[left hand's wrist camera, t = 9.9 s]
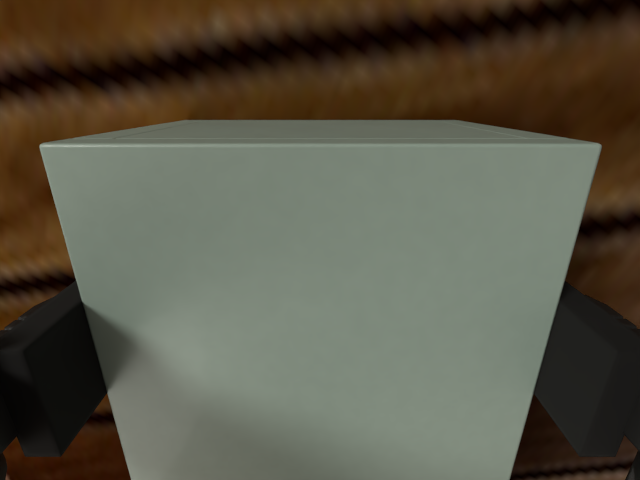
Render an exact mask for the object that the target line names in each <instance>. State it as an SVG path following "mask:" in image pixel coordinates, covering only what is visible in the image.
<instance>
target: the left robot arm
mask: <svg viewBox="0 0 640 480" xmlns="http://www.w3.org/2000/svg"><path fill="white" fill-rule="evenodd" d="M106 394H107V390H106V386H105V382H104V379H103V375H102V372H101V368H100V364H99V361H98V357H97V353H96V350H95V346H94V343H93V339H92V335H91V332H90V328H89V325H88V321H87V317H86V314H85V310H84V306H83V303H82V299H81V296H80V292H79V288H78V285H77V281H75V282H74V283H72V284H71V285H69V286H68V287H67V288H65V289H64V290H63V291H61V292H60V293H59V294H57V295H56V296H55V297H53V298H51V299H48V300H46V301H44V302H42V303H40V304H38V305H36V306H34V307H32V308H31V309H30V310H28V311H27V312H26V313H24V314H23V315H21V316H20V317H19V318H18V320H15V321H13V322H12V323H10V324H9V325H8V326H6V327H5V330H1V331H0V480H5V478H6V472H7V464H6V459H5V457H4V455H3V451H4V450H5V449H6V447H7V446H8V445H9V444H10V443H11V442H12V441H13V440H14V439H15V437H16V436H17V438H18V440H19V443H20V445H21V448H22V450H23V452H24V455H25V457H61V456H62V454H63V453H64V452H65V450H66V449H67V447H68V446H69V445H70V443H71V442H72V441H73V439H74V438H75V436H76V435H77V434H78V432H79V431H80V429H81V428H82V427H83V425H84V424H85V423H86V421H87V420H88V418H89V417H90V416H91V414H92V413H93V412H94V410H95V409H96V407H97V406H98V405H99V403H100V402H101V400H102V399H103V398H104V396H105V395H106ZM534 394H535V396H536V397H537V398H538V400H539V401H540V403H541V404H542V405H543V407H544V408H545V409H546V411H547V412H548V414H549V415H550V416H551V418H552V419H553V421H554V422H555V423H556V425H557V426H558V427H559V429H560V430H561V432H562V433H563V434H564V436H565V437H566V439H567V440H568V441H569V443H570V444H571V445H572V447H573V448H574V450H575V451H576V452H577V454H578V455H579V456H580V457H615V456H616V454H617V451H618V449H619V447H620V444H621V442H622V439H623V437H624V435H625V436H626V437H627V438H628V439H629V440H630V441H631V443H632V444H633V445H634V446H635V447H636V448H637V449H638V452H637V455H636V457H635V459H634V461H633V464H632V466H631V468H630V470H629V473H628V475H627V477H626V479H625V480H640V329H637V328H636V326H635V325H634V324H633V323H631V322H630V321H628V320H627V319H623V316H621V315H620V314H619V313H617V312H616V311H615V310H613V309H612V308H610V307H609V306H608V305H606V304H604V303H602V302H599V301H597V300H595V299H593V298H591V297H589V296H587V295H583V294H582V293H580V292H579V291H578V290H576V289H575V288H574V287H572V286H571V285H570V284H568V283H567V282H566V281H565V282H564V285H563V289H562V293H561V296H560V300H559V303H558V307H557V311H556V314H555V318H554V321H553V325H552V329H551V332H550V336H549V339H548V343H547V347H546V350H545V354H544V357H543V361H542V365H541V368H540V372H539V375H538V379H537V383H536V386H535V390H534Z"/></svg>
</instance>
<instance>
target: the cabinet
mask: <svg viewBox="0 0 640 480" xmlns="http://www.w3.org/2000/svg"><path fill="white" fill-rule="evenodd" d="M601 148H602V146H601V145H600V144H598V143H594V142H587V141H581V140H575V139H568V138H564V137H557V136H551V135H545V134H539V133H533V132H527V131H520V130H514V129H508V128H502V127H496V126H489V125H483V124H477V123H471V122H463V121H458V120H183V121H177V122H170V123H164V124H158V125H152V126H146V127H139V128H133V129H127V130H121V131H115V132H108V133H102V134H96V135H90V136H83V137H77V138H73V139H65V140H59V141H53V142H47V143H42V144H41V145H40V151H41V154H42V158H43V162H44V165H45V169H46V172H47V176H48V180H49V183H50V187H51V191H52V194H53V198H54V201H55V205H56V209H57V212H58V216H59V220H60V223H61V227H62V230H63V234H64V238H65V241H66V245H67V249H68V252H69V256H70V259H71V263H72V267H73V270H74V274H75V277H76V281H77V285H78V288H79V292H80V296H81V299H82V303H83V306H84V310H85V314H86V317H87V321H88V325H89V328H90V332H91V335H92V339H93V343H94V346H95V350H96V353H97V357H98V361H99V364H100V368H101V372H102V375H103V379H104V382H105V386H106V390H107V393H108V397H109V401H110V404H111V408H112V411H113V415H114V419H115V422H116V426H117V430H118V433H119V437H120V440H121V444H122V448H123V451H124V455H125V458H126V462H127V466H128V469H129V473H130V477H131V480H510V476H511V473H512V469H513V465H514V462H515V458H516V455H517V451H518V447H519V444H520V440H521V437H522V433H523V429H524V426H525V422H526V419H527V415H528V411H529V408H530V404H531V401H532V397H533V393H534V390H535V386H536V383H537V379H538V375H539V372H540V368H541V365H542V361H543V357H544V354H545V350H546V347H547V343H548V339H549V336H550V332H551V329H552V325H553V321H554V318H555V314H556V311H557V307H558V303H559V300H560V296H561V293H562V289H563V285H564V282H565V278H566V275H567V271H568V267H569V264H570V260H571V257H572V253H573V249H574V246H575V242H576V238H577V235H578V231H579V228H580V224H581V220H582V217H583V213H584V210H585V206H586V202H587V199H588V195H589V192H590V188H591V184H592V181H593V177H594V174H595V170H596V166H597V163H598V159H599V156H600V152H601Z"/></svg>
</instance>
